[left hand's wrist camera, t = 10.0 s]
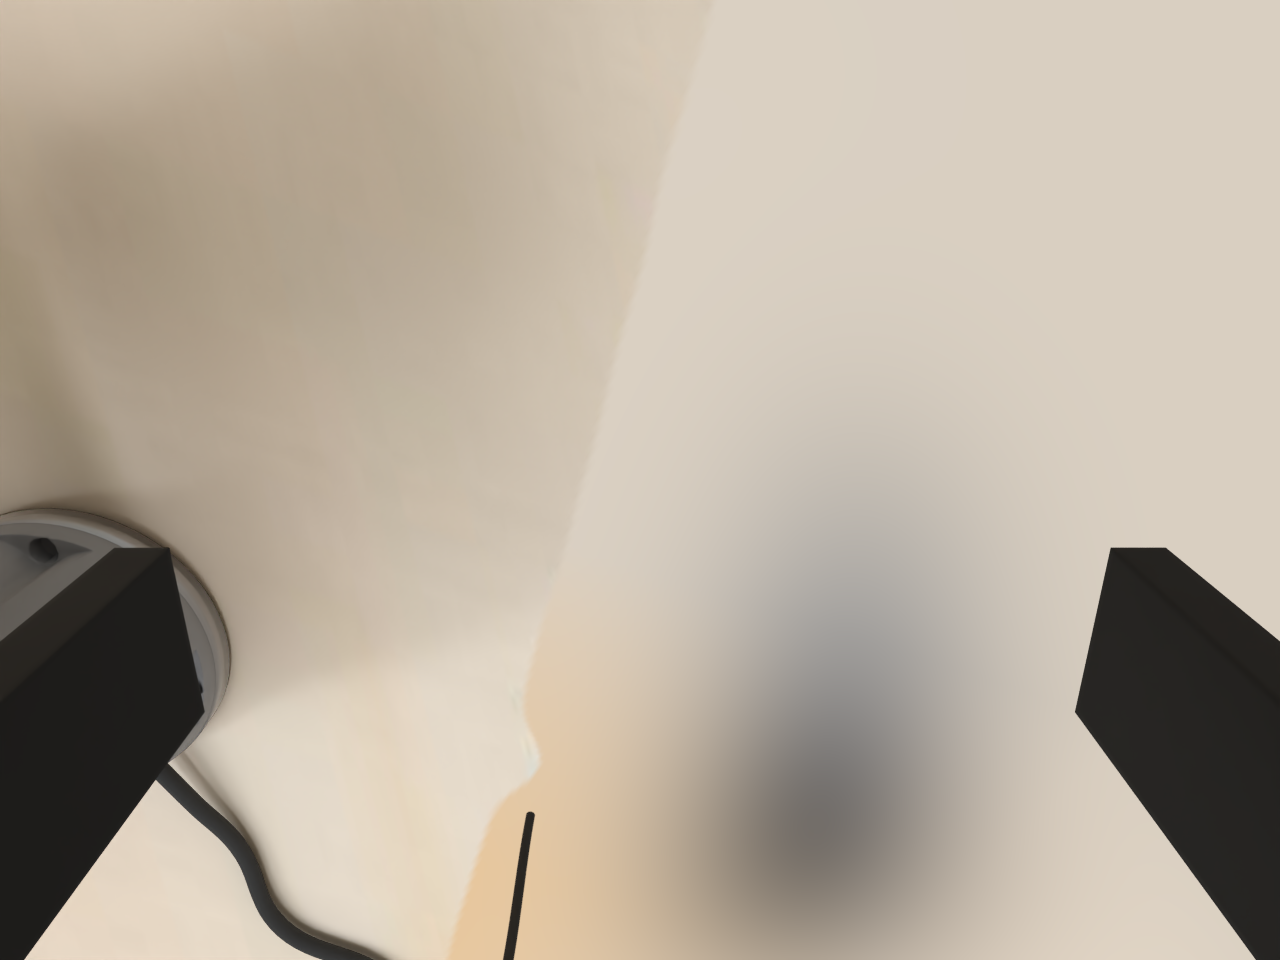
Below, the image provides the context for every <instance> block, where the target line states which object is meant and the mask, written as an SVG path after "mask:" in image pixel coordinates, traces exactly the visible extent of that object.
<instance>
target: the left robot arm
mask: <svg viewBox="0 0 1280 960" xmlns="http://www.w3.org/2000/svg"><path fill="white" fill-rule="evenodd" d="M229 668H230V656H229V646H228V641H227V636H226V633H225V629H224V626H223V623H222V621H221V618H220V616H219V613H218V611H217V609H216V608H215V606H214V604H213V602H212V600H211V599H210V597H209V596H208V594H207V592H206V591H205V589H204V588H203V587H202V585H201V584H200V583H199V582H198V580H197V579H196V578H195V577H194V576H193V574H192V573H191V572H190V571H189V570H188V569H187V568H186V567H185V566H184V565H183V564H182V563H181V562H180V561H178V560H177V559H176V558H175V557H174V556H173V555H172V554H170V549H169V548H163V547H161V546H160V545H158V544H157V543H155V542H154V541H152V540H151V539H149V538H148V537H146V536H144V535H142V534H140V533H139V532H137V531H135V530H133V529H131V528H129V527H126V526H124V525H122V524H120V523H117V522H114V521H112V520H109V519H106V518H103V517H100V516H96V515H92V514H89V513H84V512H78V511H73V510H64V509H30V510H22V511H17V512H12V513H8V514H4V515H1V516H0V960H24V959H25V958H26V956H27V955H28V954H29V952H30V951H31V950H32V948H33V947H34V945H35V944H36V943H37V941H38V940H39V939H40V937H41V936H42V935H43V933H44V932H45V930H46V929H47V928H48V926H49V925H50V924H51V922H52V921H53V919H54V918H55V917H56V915H57V914H58V913H59V911H60V910H61V909H62V907H63V906H64V904H65V903H66V902H67V900H68V899H69V898H70V896H71V895H72V893H73V892H74V891H75V889H76V888H77V887H78V885H79V884H80V882H81V881H82V880H83V878H84V877H85V876H86V874H87V873H88V872H89V870H90V869H91V867H92V866H93V865H94V863H95V862H96V861H97V859H98V858H99V856H100V855H101V854H102V852H103V851H104V850H105V848H106V847H107V846H108V844H109V843H110V841H111V840H112V839H113V837H114V836H115V835H116V833H117V832H118V830H119V829H120V828H121V826H122V825H123V824H124V822H125V821H126V820H127V818H128V817H129V815H130V814H131V813H132V811H133V810H134V809H135V807H136V806H137V804H138V803H139V802H140V800H141V799H142V798H143V796H144V795H145V793H146V792H147V791H148V789H149V788H150V787H151V785H152V784H153V783H154V781H155V780H157V781H158V782H159V783H160V784H161V785H162V786H163V787H164V788H165V789H166V790H167V791H168V792H169V793H170V794H171V795H172V796H173V797H174V798H175V799H176V800H177V801H178V802H179V803H180V804H181V805H182V806H183V807H184V808H185V809H186V810H187V811H188V812H189V813H190V814H191V815H192V816H194V817H195V818H196V819H197V820H198V821H199V822H200V823H202V824H203V825H204V826H205V827H206V828H208V829H209V830H210V831H211V832H212V833H213V834H215V835H216V836H217V837H218V838H219V839H220V840H221V841H222V842H223V843H224V844H225V845H226V847H227V848H228V849H229V850H230V851H231V853H232V854H233V856H234V857H235V859H236V860H237V862H238V864H239V866H240V868H241V870H242V872H243V875H244V877H245V880H246V883H247V885H248V888H249V891H250V894H251V897H252V899H253V901H254V904H255V906H256V908H257V910H258V912H259V914H260V915H261V917H262V918H263V920H264V921H265V923H266V924H267V925H268V926H269V928H270V929H271V930H272V931H273V932H274V933H275V934H276V935H277V936H278V937H280V938H281V939H282V940H284V941H285V942H286V943H288V944H289V945H291V946H292V947H294V948H296V949H298V950H300V951H302V952H304V953H306V954H308V955H311V956H313V957H316V958H319V959H322V960H373V959H371V958H369V957H367V956H364V955H362V954H360V953H357V952H354V951H351V950H348V949H345V948H342V947H339V946H336V945H333V944H330V943H327V942H325V941H322V940H319V939H317V938H315V937H312V936H310V935H308V934H306V933H304V932H303V931H301V930H300V929H298V928H296V927H295V926H294V925H293V924H291V923H290V922H289V921H288V920H287V919H286V918H285V917H284V916H283V915H282V914H281V913H280V911H279V910H278V909H277V907H276V906H275V904H274V903H273V901H272V899H271V897H270V895H269V892H268V890H267V887H266V884H265V881H264V878H263V875H262V872H261V870H260V867H259V865H258V862H257V860H256V858H255V856H254V854H253V852H252V850H251V848H250V847H249V845H248V844H247V842H246V841H245V839H244V838H243V837H242V835H241V834H240V833H239V832H238V831H237V829H236V828H235V827H234V826H233V825H232V824H231V823H230V822H229V821H228V820H226V819H225V818H224V817H223V816H222V815H221V814H220V813H218V812H217V811H216V810H215V809H214V808H213V807H211V806H210V805H209V804H208V803H207V802H206V801H205V800H204V799H203V798H202V797H201V796H200V795H199V794H198V793H197V792H196V791H195V790H194V789H193V788H192V787H191V786H190V785H189V784H188V783H187V782H186V781H185V780H184V779H183V778H182V777H181V776H180V775H179V774H178V773H177V772H176V771H175V770H174V769H173V768H172V767H171V766H170V765H169V764H168V762H170V761H171V760H172V759H174V758H175V757H176V756H178V755H179V754H180V753H181V752H183V751H184V750H185V749H186V748H187V747H188V746H189V745H190V744H191V743H192V742H193V741H194V740H195V739H196V738H197V737H198V735H199V734H200V733H201V732H202V730H203V729H204V727H205V726H206V725H207V723H208V722H209V720H210V719H211V718H212V716H213V715H214V713H215V711H216V710H217V708H218V707H219V705H220V703H221V701H222V698H223V696H224V693H225V690H226V687H227V683H228V677H229ZM1075 713H1076V714H1077V715H1078V717H1079V718H1080V719H1081V721H1082V722H1083V724H1084V725H1085V726H1086V728H1087V729H1088V730H1089V732H1090V733H1091V734H1092V736H1093V737H1094V739H1095V740H1096V741H1097V743H1098V744H1099V746H1100V747H1101V748H1102V750H1103V751H1104V752H1105V754H1106V755H1107V756H1108V758H1109V759H1110V761H1111V762H1112V763H1113V765H1114V766H1115V767H1116V769H1117V770H1118V771H1119V773H1120V774H1121V776H1122V777H1123V778H1124V780H1125V781H1126V782H1127V784H1128V785H1129V787H1130V788H1131V789H1132V791H1133V792H1134V793H1135V795H1136V796H1137V798H1138V799H1139V800H1140V802H1141V803H1142V804H1143V806H1144V807H1145V809H1146V810H1147V811H1148V813H1149V814H1150V815H1151V817H1152V818H1153V820H1154V821H1155V822H1156V824H1157V825H1158V826H1159V828H1160V829H1161V830H1162V832H1163V833H1164V834H1165V836H1166V837H1167V839H1168V840H1169V841H1170V843H1171V844H1172V845H1173V847H1174V848H1175V850H1176V851H1177V852H1178V854H1179V855H1180V856H1181V858H1182V859H1183V861H1184V862H1185V863H1186V865H1187V866H1188V867H1189V869H1190V870H1191V872H1192V873H1193V874H1194V876H1195V877H1196V878H1197V880H1198V881H1199V882H1200V884H1201V885H1202V887H1203V888H1204V889H1205V891H1206V892H1207V893H1208V895H1209V896H1210V898H1211V899H1212V900H1213V902H1214V903H1215V904H1216V906H1217V907H1218V908H1219V910H1220V911H1221V913H1222V914H1223V915H1224V917H1225V918H1226V919H1227V921H1228V922H1229V923H1230V925H1231V926H1232V928H1233V929H1234V930H1235V932H1236V933H1237V934H1238V936H1239V937H1240V938H1241V940H1242V941H1243V943H1244V944H1245V945H1246V947H1247V948H1248V950H1249V951H1250V952H1251V954H1252V955H1253V956H1254V958H1255V959H1256V960H1280V641H1279V640H1278V639H1276V638H1275V637H1274V636H1273V635H1271V634H1270V633H1269V632H1268V631H1267V630H1265V629H1264V628H1263V627H1262V626H1261V625H1259V624H1258V623H1257V622H1256V621H1254V620H1253V619H1252V618H1251V617H1250V616H1248V615H1247V614H1246V613H1245V612H1243V611H1242V610H1241V609H1240V608H1239V607H1237V606H1236V605H1235V604H1234V603H1232V602H1231V601H1230V600H1229V599H1228V598H1226V597H1225V596H1224V595H1223V594H1222V593H1220V592H1219V591H1218V590H1217V589H1215V588H1214V587H1213V586H1212V585H1211V584H1209V583H1208V582H1207V581H1206V580H1204V579H1203V578H1202V577H1201V576H1200V575H1198V574H1197V573H1196V572H1195V571H1193V570H1192V569H1191V568H1190V567H1189V566H1187V565H1186V564H1185V563H1184V562H1183V561H1181V560H1180V559H1179V558H1178V557H1176V556H1175V555H1174V554H1173V553H1172V552H1170V551H1169V550H1168V549H1167V548H1111V549H1110V554H1109V558H1108V563H1107V567H1106V572H1105V577H1104V581H1103V586H1102V590H1101V595H1100V600H1099V604H1098V609H1097V613H1096V618H1095V623H1094V627H1093V632H1092V637H1091V641H1090V645H1089V650H1088V655H1087V659H1086V664H1085V669H1084V673H1083V678H1082V682H1081V687H1080V691H1079V696H1078V701H1077V705H1076V710H1075ZM534 818H535V814H534V813H533V812H527V813H526V818H525V823H524V829H523V834H522V841H521V847H520V852H519V859H518V865H517V872H516V879H515V886H514V893H513V900H512V906H511V913H510V920H509V926H508V932H507V939H506V945H505V950H504V956H503V960H514V955H515V949H516V943H517V936H518V930H519V923H520V915H521V908H522V901H523V893H524V886H525V878H526V871H527V864H528V857H529V849H530V843H531V837H532V830H533V824H534Z"/></svg>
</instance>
